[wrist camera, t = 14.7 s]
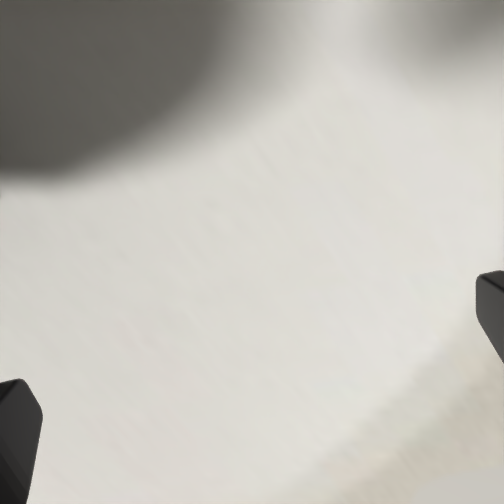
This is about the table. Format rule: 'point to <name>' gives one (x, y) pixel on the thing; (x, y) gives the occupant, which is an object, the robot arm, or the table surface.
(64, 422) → the table surface
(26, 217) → the table surface
